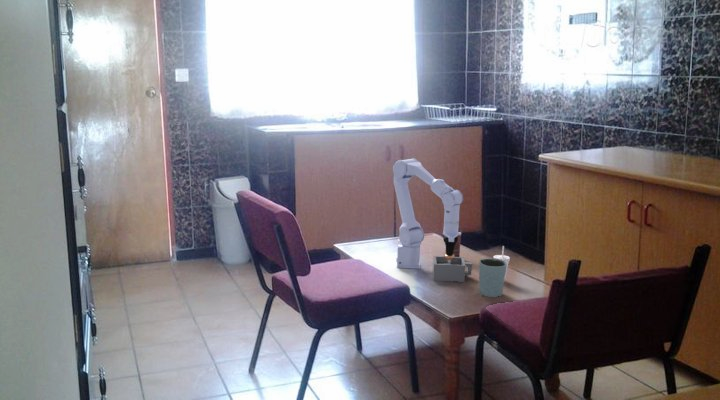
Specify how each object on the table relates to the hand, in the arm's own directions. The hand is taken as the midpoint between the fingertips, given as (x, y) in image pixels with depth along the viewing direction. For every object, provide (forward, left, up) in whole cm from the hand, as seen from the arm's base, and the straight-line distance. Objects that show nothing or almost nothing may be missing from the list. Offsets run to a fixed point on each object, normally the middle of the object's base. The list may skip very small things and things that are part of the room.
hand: (449, 255), depth 286 cm
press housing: (+1, 0, -9) cm, 9 cm away
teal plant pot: (+15, -18, -9) cm, 25 cm away
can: (+3, +28, -9) cm, 30 cm away
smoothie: (+20, -2, -9) cm, 22 cm away
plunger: (0, 0, -5) cm, 5 cm away
